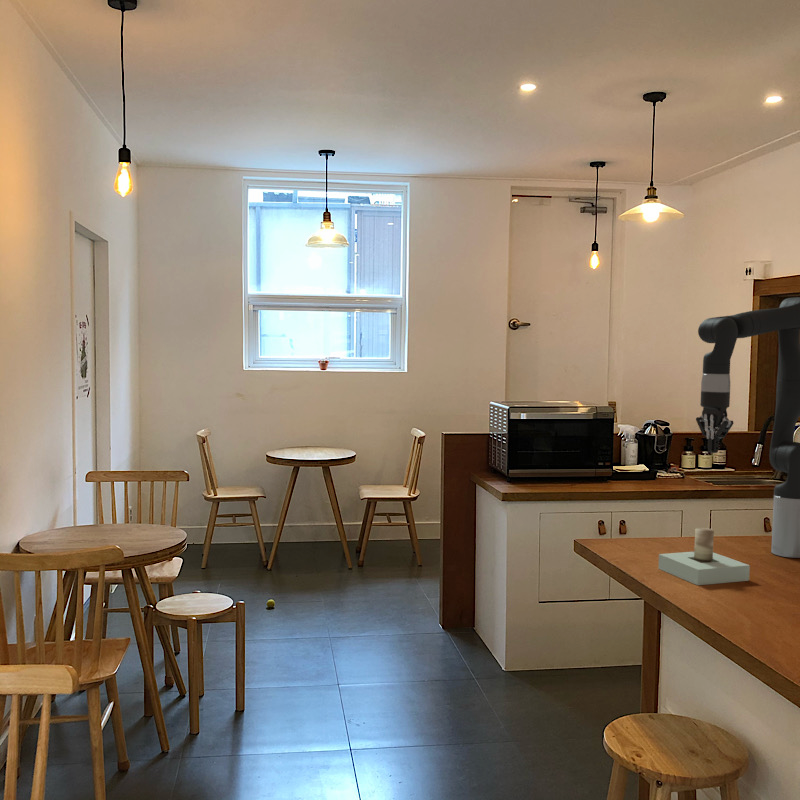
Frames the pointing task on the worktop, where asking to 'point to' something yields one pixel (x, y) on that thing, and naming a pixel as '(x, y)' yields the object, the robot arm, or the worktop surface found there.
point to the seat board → (704, 568)
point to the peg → (703, 545)
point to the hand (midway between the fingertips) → (712, 452)
